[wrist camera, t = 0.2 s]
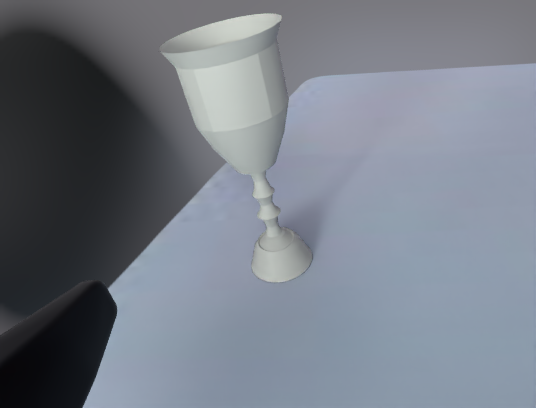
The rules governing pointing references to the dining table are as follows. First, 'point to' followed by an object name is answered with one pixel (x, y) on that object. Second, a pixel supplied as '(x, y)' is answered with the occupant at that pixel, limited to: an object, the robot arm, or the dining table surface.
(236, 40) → the chalice
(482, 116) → the dining table surface
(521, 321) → the dining table surface
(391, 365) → the dining table surface
